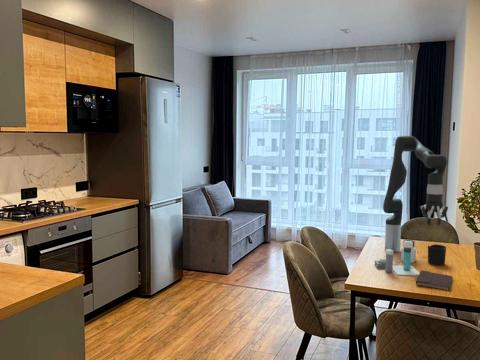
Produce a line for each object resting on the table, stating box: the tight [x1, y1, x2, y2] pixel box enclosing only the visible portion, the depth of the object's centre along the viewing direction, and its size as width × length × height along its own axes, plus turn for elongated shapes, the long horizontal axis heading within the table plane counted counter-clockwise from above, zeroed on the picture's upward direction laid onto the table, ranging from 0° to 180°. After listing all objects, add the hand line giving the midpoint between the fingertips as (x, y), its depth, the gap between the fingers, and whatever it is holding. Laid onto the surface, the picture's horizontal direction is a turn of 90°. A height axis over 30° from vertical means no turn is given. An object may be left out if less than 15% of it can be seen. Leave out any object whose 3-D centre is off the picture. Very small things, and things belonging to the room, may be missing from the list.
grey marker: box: [384, 249, 394, 274], centre depth 226 cm, size 4×4×12 cm
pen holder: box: [427, 243, 447, 266], centre depth 242 cm, size 9×9×10 cm
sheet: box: [393, 265, 420, 277], centre depth 228 cm, size 16×12×1 cm
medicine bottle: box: [400, 239, 417, 264], centre depth 248 cm, size 7×7×12 cm
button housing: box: [374, 260, 386, 270], centre depth 236 cm, size 7×7×2 cm
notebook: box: [415, 269, 453, 292], centre depth 210 cm, size 15×20×2 cm
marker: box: [402, 247, 412, 271], centre depth 228 cm, size 4×4×12 cm
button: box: [379, 257, 386, 263], centre depth 236 cm, size 3×3×3 cm
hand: (433, 224), depth 225 cm, fingers open, 4 cm apart
